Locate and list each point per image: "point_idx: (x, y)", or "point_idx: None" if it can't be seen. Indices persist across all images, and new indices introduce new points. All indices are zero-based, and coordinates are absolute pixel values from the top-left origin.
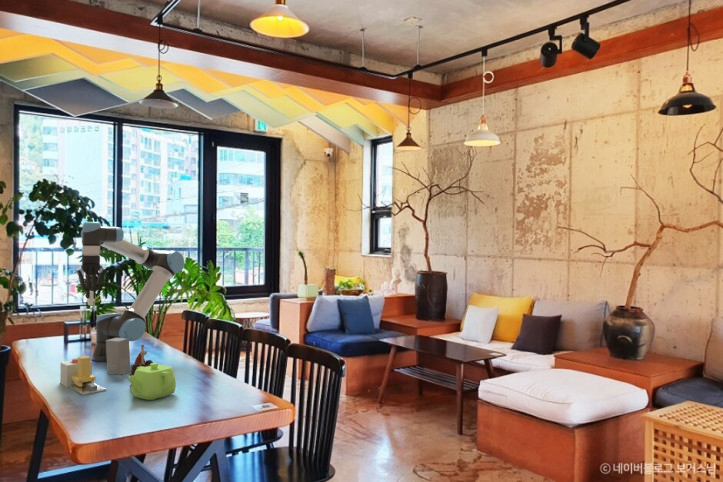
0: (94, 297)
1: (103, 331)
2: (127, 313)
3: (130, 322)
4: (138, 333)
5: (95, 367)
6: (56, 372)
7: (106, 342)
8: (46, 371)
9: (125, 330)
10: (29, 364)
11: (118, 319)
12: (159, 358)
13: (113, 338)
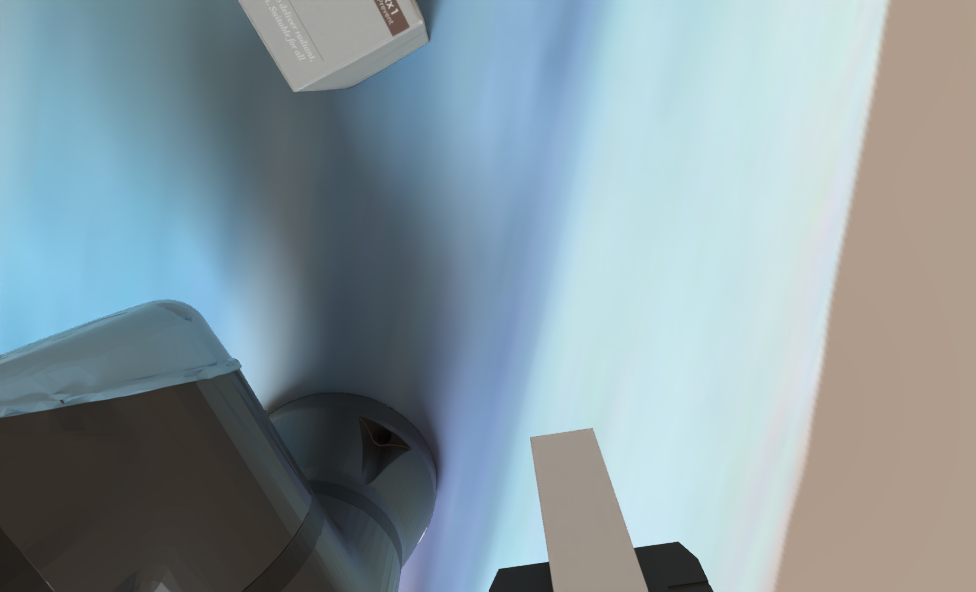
0: (510, 572)
1: (348, 553)
2: (25, 537)
3: (58, 348)
4: (52, 337)
5: (461, 268)
6: (697, 257)
7: (420, 12)
8: (737, 316)
9: (163, 314)
10: (762, 539)
11: (176, 537)
12: (26, 312)
13: (335, 65)
